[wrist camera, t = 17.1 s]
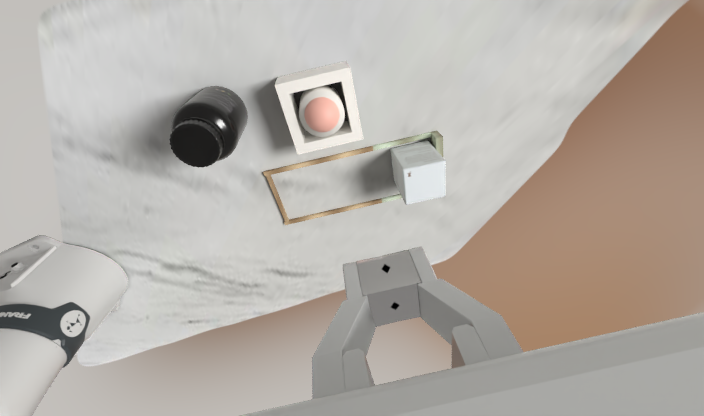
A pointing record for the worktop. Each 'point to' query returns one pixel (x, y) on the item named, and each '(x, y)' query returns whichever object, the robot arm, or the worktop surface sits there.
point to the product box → (418, 172)
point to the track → (435, 142)
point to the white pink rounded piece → (321, 111)
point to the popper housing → (314, 79)
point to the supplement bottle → (208, 126)
